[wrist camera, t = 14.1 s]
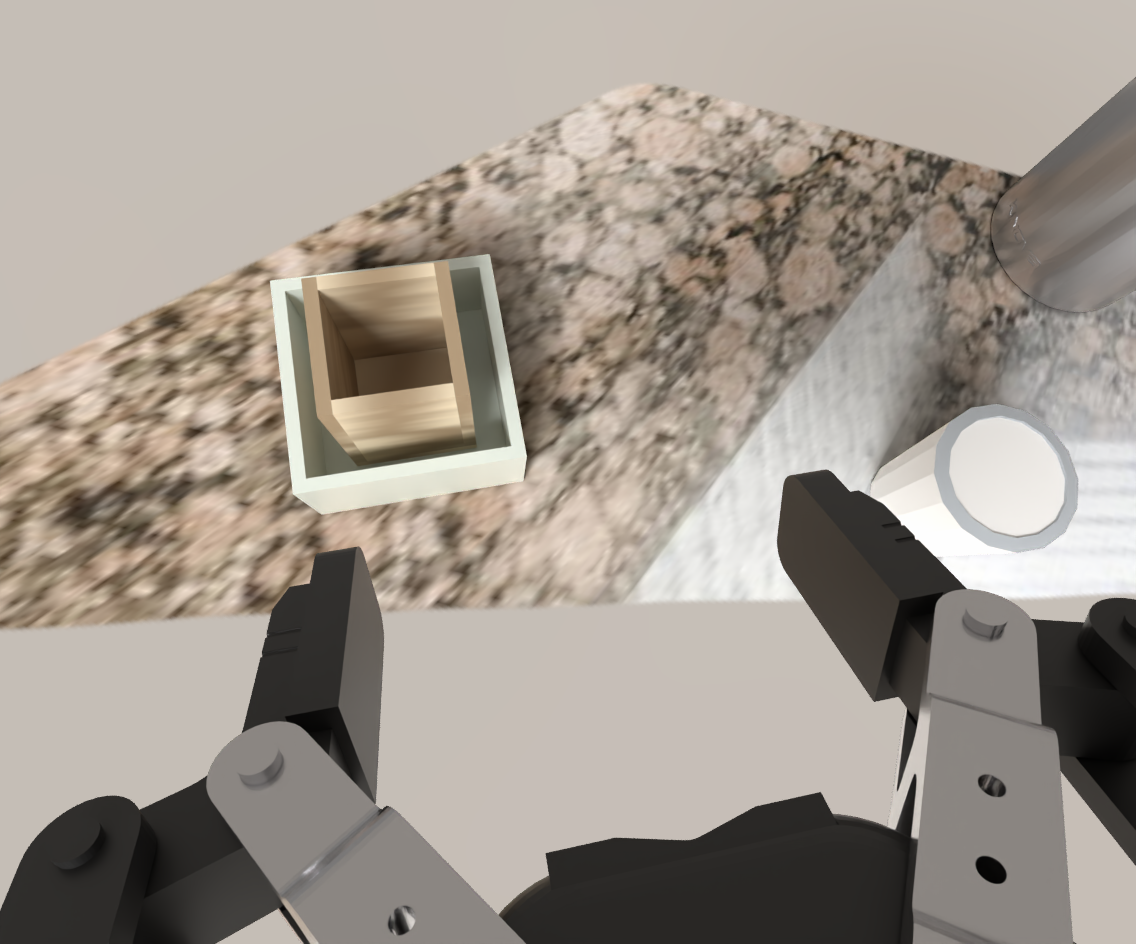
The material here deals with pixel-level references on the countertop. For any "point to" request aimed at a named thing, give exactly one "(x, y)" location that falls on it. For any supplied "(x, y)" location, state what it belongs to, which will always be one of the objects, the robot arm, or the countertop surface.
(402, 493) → the sage crate
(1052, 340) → the countertop surface
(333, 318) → the birch crate
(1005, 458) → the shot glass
